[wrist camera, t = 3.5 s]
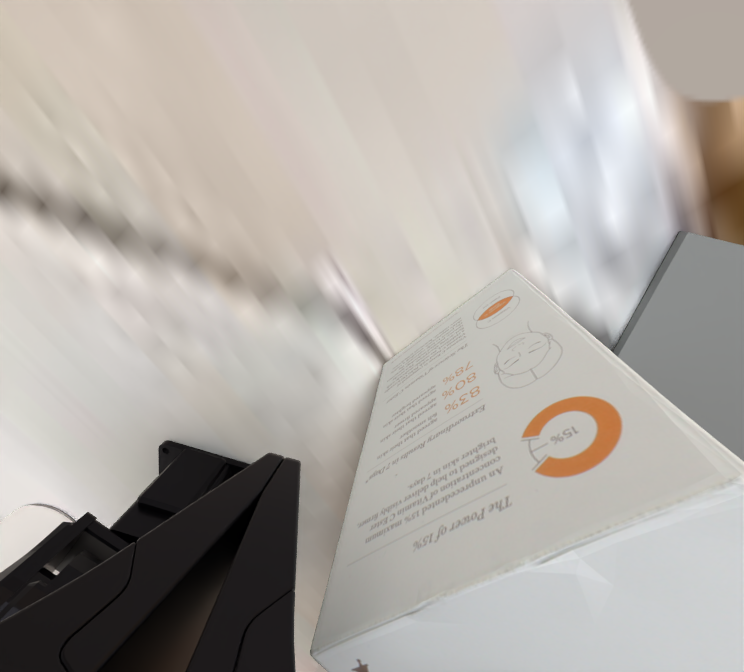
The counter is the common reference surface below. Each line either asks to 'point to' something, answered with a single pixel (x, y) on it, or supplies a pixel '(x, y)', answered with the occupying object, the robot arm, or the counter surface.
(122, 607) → the robot arm
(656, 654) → the small box
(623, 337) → the mat
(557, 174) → the counter surface
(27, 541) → the can
